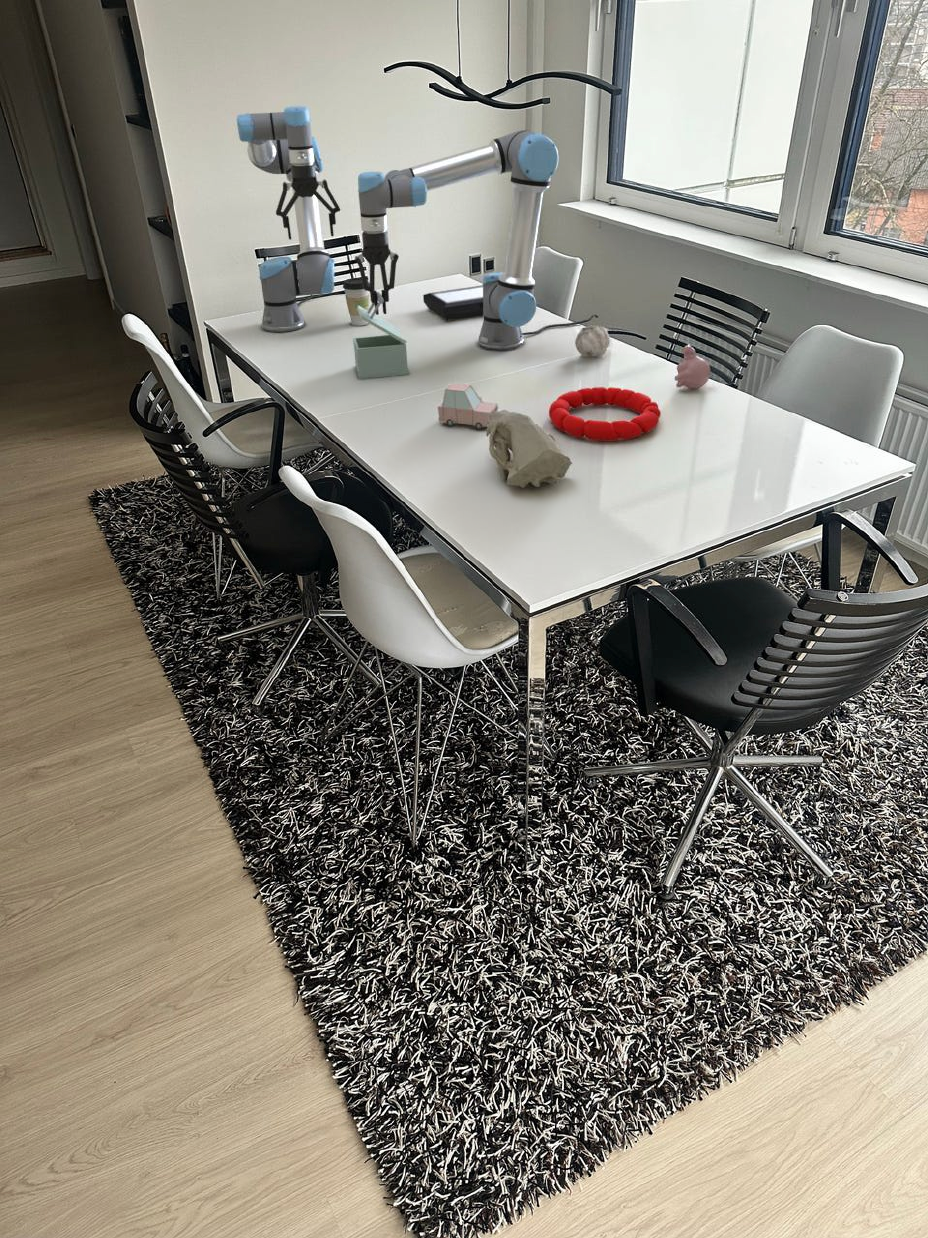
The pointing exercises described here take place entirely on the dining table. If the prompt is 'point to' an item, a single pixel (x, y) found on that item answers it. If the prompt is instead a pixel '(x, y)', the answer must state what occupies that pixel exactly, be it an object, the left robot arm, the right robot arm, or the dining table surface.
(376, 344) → the chest
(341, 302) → the dining table surface
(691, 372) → the figurine
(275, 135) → the left robot arm
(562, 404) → the decorative ring
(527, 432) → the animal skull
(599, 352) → the seashell
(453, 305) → the electronic device
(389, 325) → the lid
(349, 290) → the coffee cup
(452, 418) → the toy car
